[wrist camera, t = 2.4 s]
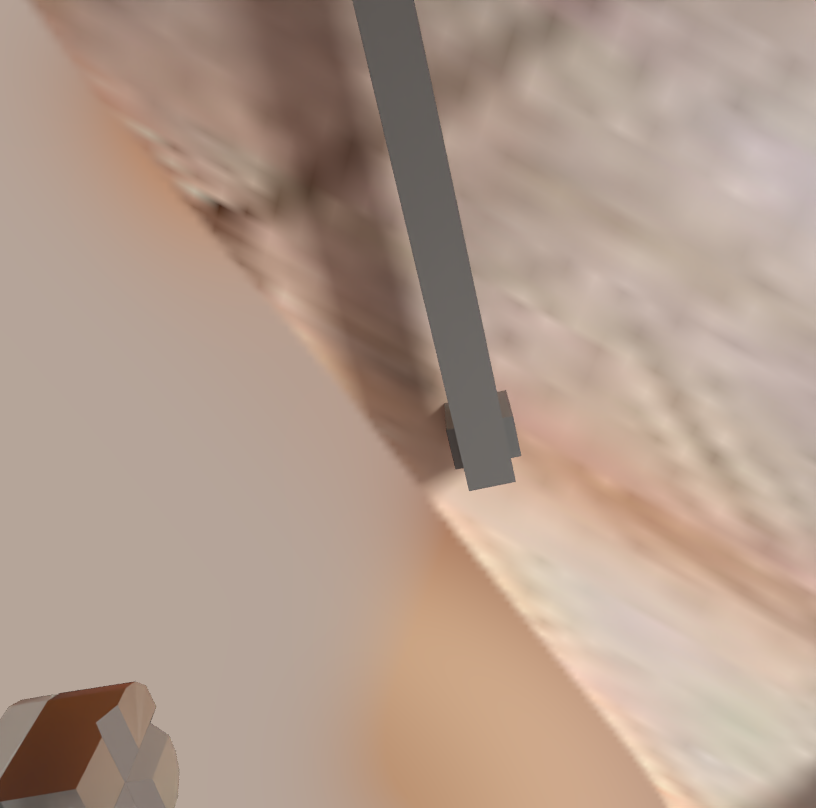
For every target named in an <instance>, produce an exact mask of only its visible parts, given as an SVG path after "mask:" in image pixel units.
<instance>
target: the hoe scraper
mask: <svg viewBox="0 0 816 808" xmlns="http://www.w3.org/2000/svg"><path fill="white" fill-rule="evenodd" d="M352 1H353V5H354V9H355V13H356V17H357V22H358V26H359V30H360V34H361V38H362V43H363V47H364V51H365V55H366V59H367V64H368V68H369V72H370V76H371V80H372V85H373V89H374V93H375V97H376V101H377V106H378V110H379V114H380V118H381V122H382V127H383V131H384V135H385V139H386V143H387V148H388V152H389V156H390V160H391V164H392V169H393V173H394V177H395V181H396V185H397V190H398V194H399V198H400V202H401V206H402V211H403V215H404V219H405V223H406V227H407V232H408V236H409V240H410V244H411V248H412V253H413V257H414V261H415V265H416V270H417V274H418V278H419V282H420V286H421V291H422V295H423V299H424V303H425V307H426V312H427V316H428V320H429V324H430V328H431V333H432V337H433V341H434V345H435V349H436V354H437V358H438V362H439V366H440V370H441V375H442V379H443V383H444V387H445V391H446V396H447V400H448V403H445V404H444V405H445V421H446V432H447V436H448V440H449V444H450V448H451V452H452V456H453V460H454V465H455V469H460V468H464V471H465V475H466V480H467V484H468V488H469V491H472V490H477V489H482V488H487V487H492V486H497V485H502V484H507V483H512V482H516V481H515V476H514V471H513V466H512V462H511V458H514V457H519V456H521V452H520V448H519V443H518V438H517V433H516V428H515V423H514V418H513V414H512V411H511V407H510V403H509V400H508V396H507V392H506V390H505V391H501V392H497V391H496V386H495V381H494V377H493V372H492V367H491V362H490V358H489V353H488V348H487V343H486V339H485V334H484V329H483V325H482V320H481V315H480V310H479V306H478V301H477V296H476V291H475V287H474V282H473V277H472V273H471V268H470V263H469V258H468V254H467V249H466V244H465V239H464V235H463V230H462V225H461V221H460V216H459V211H458V206H457V202H456V197H455V192H454V187H453V183H452V178H451V173H450V169H449V164H448V159H447V154H446V150H445V145H444V140H443V136H442V131H441V126H440V121H439V117H438V112H437V107H436V102H435V98H434V93H433V88H432V84H431V79H430V74H429V69H428V65H427V60H426V55H425V50H424V46H423V41H422V36H421V32H420V27H419V22H418V17H417V13H416V8H415V3H414V0H352Z"/></svg>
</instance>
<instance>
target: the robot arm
mask: <svg viewBox="0 0 816 808" xmlns="http://www.w3.org/2000/svg"><path fill="white" fill-rule="evenodd" d="M155 709H156V705H155V703H154V701H153V699H152V697H151V695H150V693H149V691H148V689H147V687H146V685H143V684H140V683H138V682H129V683H123V684H116V685H109V686H103V687H96V688H91V689H84V690H77V691H71V692H64V693H59V694H58V695H48V696H42V697H36V698H30V699H24V700H20V701H19V702H17V703H15V704H13V705H11V706H10V707H9V708H8V709H7V710H6V712H5V713H4V715H3V716H2V718H1V719H0V808H174V807H175V804H176V801H177V798H178V785H179V784H178V783H179V766H178V761H177V756H176V751H175V748H174V746H173V744H172V741H171V739H170V736H169V735H168V734H166V733H165V732H163V731H162V730H160V729H159V728H157V727H156V726H154V725H153V724H151V720H152V717H153V714H154V712H155Z"/></svg>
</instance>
